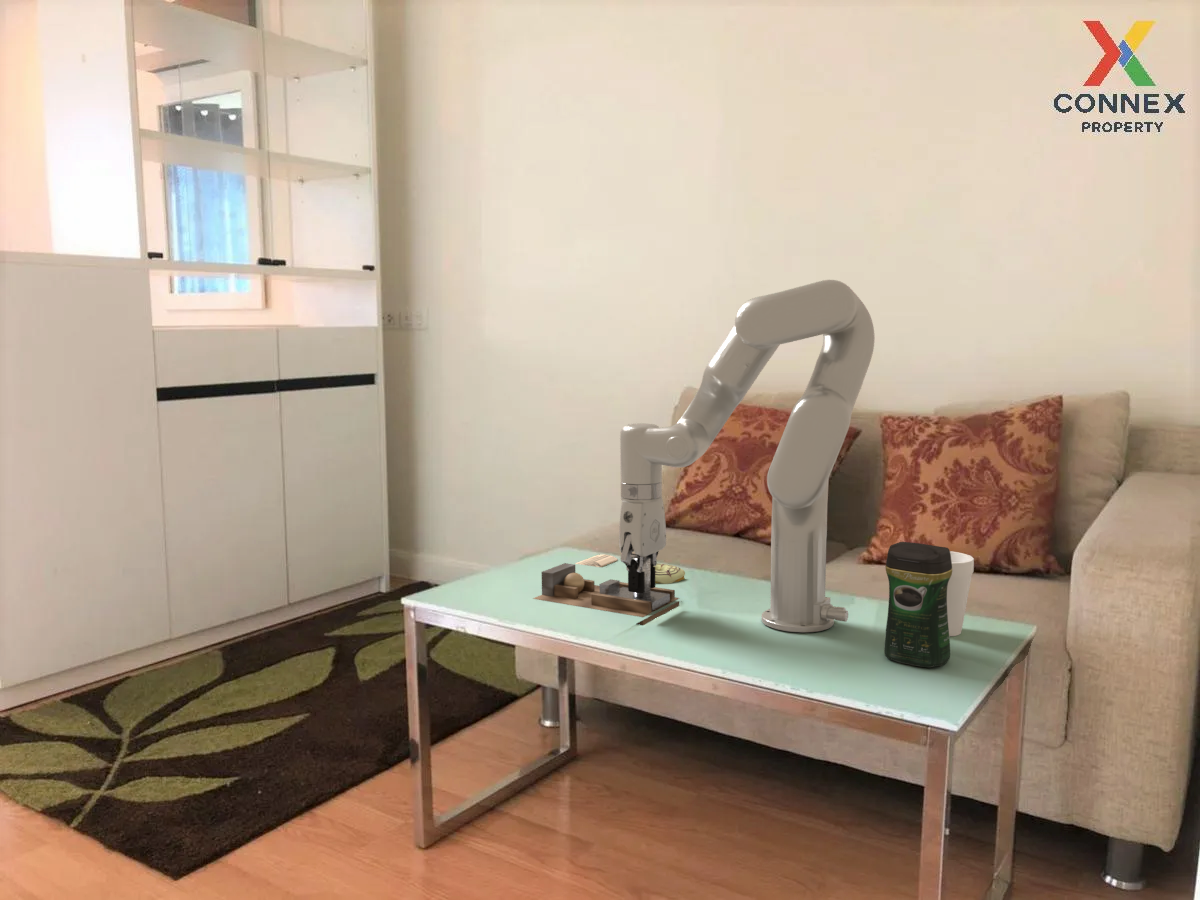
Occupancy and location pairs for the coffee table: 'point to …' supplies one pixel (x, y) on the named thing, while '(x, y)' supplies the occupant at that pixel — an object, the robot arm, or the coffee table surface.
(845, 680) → the coffee table surface
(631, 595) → the ram
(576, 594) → the brown piece
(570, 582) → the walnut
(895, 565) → the coffee jar
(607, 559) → the newspaper
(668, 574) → the decorated donut
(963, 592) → the foam cup
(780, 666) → the coffee table surface
